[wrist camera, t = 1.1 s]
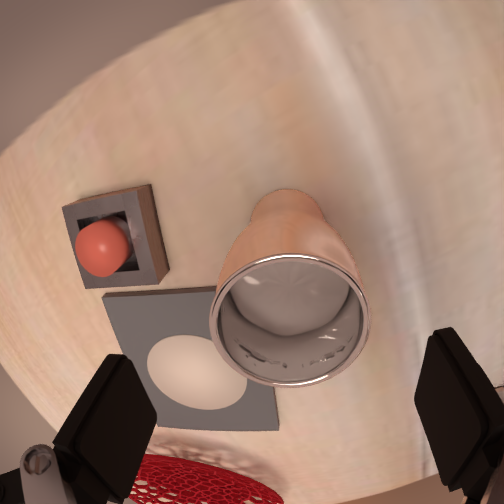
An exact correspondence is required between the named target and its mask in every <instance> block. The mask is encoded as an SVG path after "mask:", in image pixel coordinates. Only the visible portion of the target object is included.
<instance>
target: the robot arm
mask: <svg viewBox="0 0 504 504" xmlns="http://www.w3.org/2000/svg"><path fill="white" fill-rule="evenodd" d="M414 401H415V406H416V408H417V411H418V414H419V416H420V419H421V422H422V425H423V427H424V430H425V433H426V436H427V439H428V441H429V444H430V447H431V450H432V453H433V456H434V459H435V462H436V465H437V468H438V472H439V475H440V478H441V481H442V483H443V485H444V486H447V485H448V488H449V491H450V492H451V491H454V490H457V489H460V488H462V490H463V493H464V496H465V497H464V499H463V501H462V503H461V504H504V387H500V388H496V389H495V388H494V387H493V385H492V383H491V382H490V380H489V379H488V377H487V375H486V374H485V372H484V371H483V369H482V368H481V366H480V365H479V364H478V363H477V362H476V360H475V359H474V357H473V356H472V354H471V353H470V352H469V350H468V349H467V347H466V346H465V344H464V343H463V341H462V340H461V338H460V337H459V336H458V334H457V333H456V331H455V330H454V329H453V328H452V327H448V328H443V329H438V330H435V331H434V332H433V335H432V336H429V338H428V341H427V346H426V351H425V356H424V360H423V364H422V368H421V373H420V376H419V380H418V384H417V388H416V392H415V396H414ZM156 422H157V413H156V410H155V408H154V406H153V404H152V402H151V400H150V398H149V396H148V394H147V392H146V390H145V388H144V386H143V384H142V382H141V380H140V377H139V375H138V373H137V371H136V369H135V366H134V364H133V362H132V360H130V359H128V357H127V356H126V355H123V354H109V355H107V356H106V358H105V359H104V361H103V362H102V364H101V365H100V367H99V368H98V370H97V371H96V373H95V374H94V376H93V378H92V379H91V381H90V382H89V384H88V385H87V387H86V388H85V390H84V392H83V393H82V395H81V396H80V398H79V399H78V401H77V403H76V404H75V406H74V407H73V409H72V411H71V412H70V414H69V416H68V417H67V419H66V420H65V422H64V424H63V425H62V427H61V429H60V430H59V432H58V434H57V435H56V437H55V439H54V440H53V442H52V443H53V444H54V445H55V446H54V448H53V449H52V448H51V447H49V446H47V445H44V444H38V445H34V446H32V447H30V448H29V449H27V450H26V451H25V453H24V454H23V455H22V457H21V460H20V468H18V469H15V470H12V471H10V472H7V473H4V474H1V475H0V504H106V503H107V501H110V502H114V503H118V504H123V502H124V499H125V498H128V497H129V495H130V493H131V490H132V487H133V484H134V481H135V479H136V476H137V473H138V470H139V468H140V465H141V462H142V460H143V457H144V454H145V451H146V449H147V446H148V443H149V441H150V438H151V435H152V433H153V430H154V427H155V425H156Z"/></svg>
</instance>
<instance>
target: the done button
mask: <svg viewBox="0 0 504 504" xmlns="http://www.w3.org/2000/svg"><path fill="white" fill-rule="evenodd" d="M75 250H76V254H77V257H78V260H79V262H80V263H81V265H82V266H83V267H84V268H85V269H86V270H87V271H88V272H89V273H91V274H92V275H95V276H98V277H107V276H109V275H111V274H113V273H114V272H115V271H116V270H117V269H118V268H119V267H120V266H122V265H123V264H124V263H125V262H126V261H127V260H128V259H129V258H130V257H131V256H132V254H133V252H134V246H133V242H132V238H131V234H130V230H129V226H128V224H127V223H126V222H125V221H123V220H122V219H120V218H118V217H115V216H106V217H103V218H101V219H99V220H98V221H96V222H94V223H92V224H90V225H88V226H87V227H85V228H83V229H82V230H81V231H80V232H79V233H78V235H77V238H76V242H75Z"/></svg>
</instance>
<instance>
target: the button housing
mask: <svg viewBox="0 0 504 504" xmlns="http://www.w3.org/2000/svg"><path fill="white" fill-rule="evenodd" d="M62 210H63V214H64V218H65V222H66V226H67V230H68V234H69V237H70V241H71V245H72V248H73V251H74V255H75V258H76V261H77V265H78V268H79V271H80V274H81V277H82V280H83V283H84V286H85V289H91V288H109V287H125V286H141V285H156V284H159V283H160V282H161V281H162V279H163V278H164V277H165V275H166V274H167V273H168V272H169V270H170V268H169V264H168V260H167V256H166V252H165V248H164V243H163V239H162V234H161V230H160V225H159V221H158V216H157V211H156V207H155V202H154V197H153V192H152V187H151V184H149V185H144V186H139V187H134V188H129V189H124V190H120V191H115V192H110V193H106V194H101V195H97V196H93V197H88V198H84V199H80V200H77V201H75V202H73V203H70V204H68V205H65V206H63V207H62ZM106 216H115V217H118V218H120V219H122V220H123V221H125V222H126V223H127V224H128V226H129V230H130V234H131V238H132V242H133V246H134V252H133V254H132V256H131V257H130V258H129V259H128V260H127V261H126V262H125V263H124V264H123V265H122V266H120V267H119V268H118V269H117V270H116V271H115V272H114V273H113V274H111V275H109V276H107V277H98V276H95V275H92V274H91V273H89V272H88V271H87V270H86V269H85V268H84V267H83V266H82V265H81V263H80V262H79V260H78V257H77V254H76V250H75V242H76V238H77V235H78V233H79V232H80V231H81V230H82V229H83V228H85V227H87V226H88V225H90V224H92V223H94V222H96V221H98V220H99V219H101V218H103V217H106Z"/></svg>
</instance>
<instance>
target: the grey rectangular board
mask: <svg viewBox="0 0 504 504" xmlns="http://www.w3.org/2000/svg"><path fill="white" fill-rule="evenodd" d="M216 288H217V286H213V287H199V288H185V289H170V290H154V291H137V292H118V293H106V294H105V295H104V296H103V297H102V300H103V303H104V306H105V309H106V312H107V314H108V317H109V320H110V322H111V325H112V327H113V330H114V333H115V335H116V338H117V340H118V343H119V345H120V347H121V350H122V352H123V354H124V355H126V356H127V357H128V359H130V360H132V362H133V364H134V366H135V369H136V371H137V373H138V375H139V377H140V380H141V382H142V384H143V386H144V388H145V390H146V392H147V394H148V396H149V398H150V400H151V402H152V404H153V406H154V408H155V410H156V413H157V422H156V424H157V425H158V427H168V428H179V429H193V430H211V431H279V419H278V412H277V405H276V398H275V391H274V387H272V386H268V385H264V384H260V383H257V382H255V381H252V380H250V379H248V378H246V377H244V376H242V375H241V374H239V373H238V372H236V371H235V370H234V369H233V368H231V367H230V366H229V365H228V364H227V363H226V362H225V361H224V359H223V358H222V357H221V356H220V354H219V353H218V351H217V349H216V347H215V345H214V343H213V341H212V337H211V334H210V327H209V315H210V309H211V305H212V302H213V299H214V297H215V292H216Z"/></svg>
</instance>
